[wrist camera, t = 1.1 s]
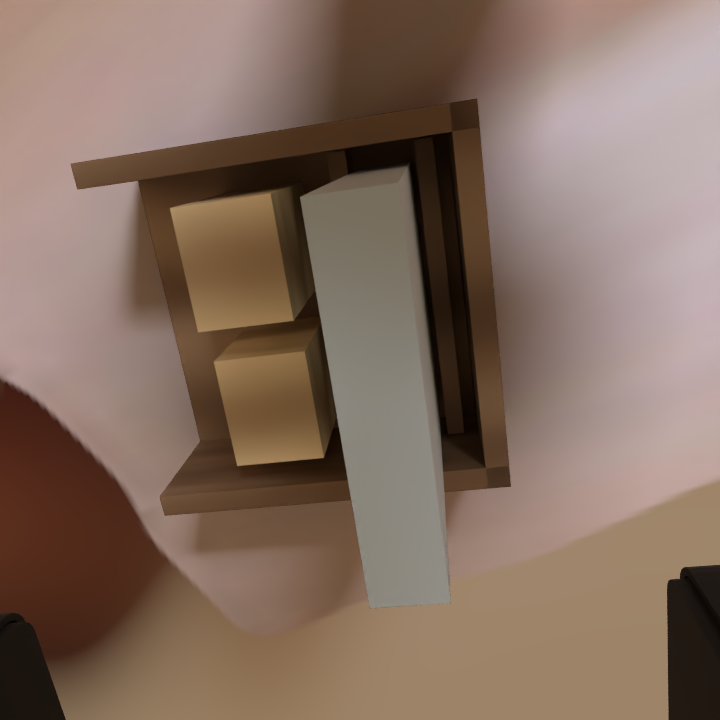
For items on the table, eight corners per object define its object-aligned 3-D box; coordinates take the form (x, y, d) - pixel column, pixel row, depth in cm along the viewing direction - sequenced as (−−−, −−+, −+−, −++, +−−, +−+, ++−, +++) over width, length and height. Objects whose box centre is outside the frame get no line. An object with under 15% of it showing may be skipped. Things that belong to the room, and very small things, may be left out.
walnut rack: (141, 159, 33) (70, 163, 26) (465, 107, 31) (476, 98, 24) (210, 449, 38) (164, 515, 31) (494, 422, 36) (510, 486, 29)
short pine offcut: (248, 324, 34) (213, 361, 28) (324, 315, 34) (304, 351, 28) (266, 414, 36) (237, 466, 30) (339, 406, 35) (323, 457, 29)
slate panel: (359, 169, 31) (299, 197, 16) (410, 161, 31) (398, 182, 16) (392, 404, 35) (369, 608, 20) (438, 400, 34) (450, 603, 19)
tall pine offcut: (221, 193, 32) (169, 208, 26) (302, 182, 32) (270, 193, 25) (242, 294, 34) (198, 332, 27) (319, 284, 33) (293, 320, 26)
